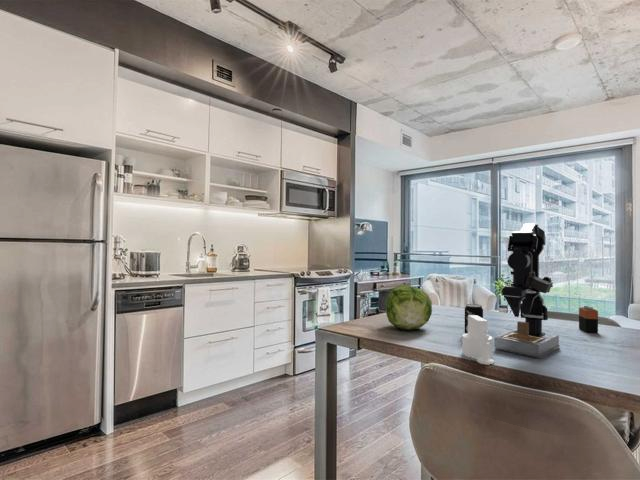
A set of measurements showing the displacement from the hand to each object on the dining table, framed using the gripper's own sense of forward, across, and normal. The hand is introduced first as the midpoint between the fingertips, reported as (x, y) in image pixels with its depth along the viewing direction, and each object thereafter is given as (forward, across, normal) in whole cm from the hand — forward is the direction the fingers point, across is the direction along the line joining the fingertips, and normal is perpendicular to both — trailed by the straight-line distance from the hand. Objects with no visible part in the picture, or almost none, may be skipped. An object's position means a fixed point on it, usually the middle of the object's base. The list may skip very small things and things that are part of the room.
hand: (522, 315), depth 126 cm
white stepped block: (+12, -16, +8) cm, 22 cm away
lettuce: (+12, -3, +43) cm, 45 cm away
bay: (+12, +4, 0) cm, 13 cm away
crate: (+11, 0, 0) cm, 11 cm away
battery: (+12, +49, -7) cm, 51 cm away
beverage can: (+12, +6, +20) cm, 24 cm away
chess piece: (+12, -21, +3) cm, 24 cm away
